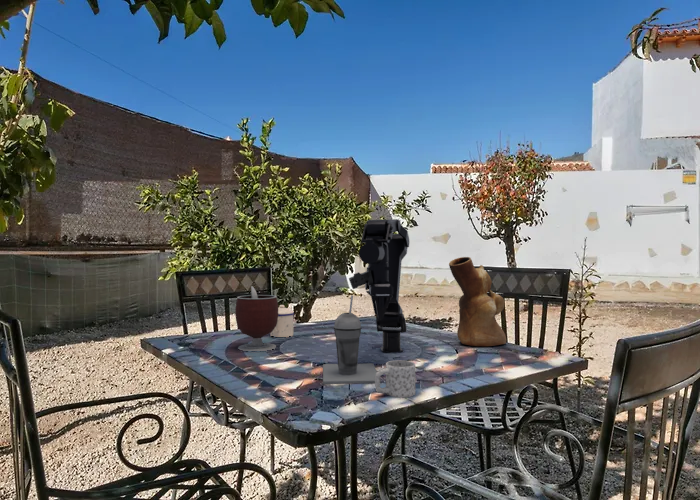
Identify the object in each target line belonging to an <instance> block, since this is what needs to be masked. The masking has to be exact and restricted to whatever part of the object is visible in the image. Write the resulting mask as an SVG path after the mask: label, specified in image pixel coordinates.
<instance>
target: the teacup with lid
mask: <svg viewBox="0 0 700 500" xmlns="http://www.w3.org/2000/svg"><path fill="white" fill-rule="evenodd" d="M294 314H295V312H294V311H293V310H290V309H289V308H287V307H285V305H284V304H280V305H278V321H277V325H276V327H275V328H274V330H273V331H272V332H271V333H269V334H270V337H271V336H275V337H286V338H290V337H289V336H291V337H294ZM275 337H274V338H275Z"/></svg>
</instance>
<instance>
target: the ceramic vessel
mask: <svg viewBox="0 0 700 500" xmlns="http://www.w3.org/2000/svg"><path fill="white" fill-rule="evenodd" d="M448 266H449V267H448V268H449V270H450V272H451V274H452V277H453V278H454V280H455V281H456V283H457V285H458V287H459V288H460V289H461V291H462V295H461V296H460V297H459V300H458V307H459V309H458V312H459V319H458V320H459V322H458V327H457V338H458V340H459V342H460V343H461V345H465V346H470V347H471V346H472V347H492V346H493V347H494V346H499V345H500V346H501V345H506V344H507V336H506V334H505V332H504V330H503V329H502V327H501V326H500V324H499V323H498V321H497V320H496V316H497V315H499V314H501V312H502V311H503V310H504V308H505V299H504V297H502V296H501V295H499V294H498V293H495V292H494V291H493V290H491V288H492V287H491V286H492V282H493V281H492V278H491V276H490V275H489V273H488V272H487V270H485V268H484V265H483V264H480V265H479V267H476V268H475V266H474V263H473V260H472V257H469V256H461V257H458V258H454V259H452V260H450V261H449V263H448Z"/></svg>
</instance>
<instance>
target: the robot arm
mask: <svg viewBox="0 0 700 500" xmlns="http://www.w3.org/2000/svg"><path fill="white" fill-rule="evenodd" d="M363 226H364V227H363V230H362V231H363V232H362V234H361V235H362V236H361V241H360V242H361V243H362V244H363V243H364V244H363V245H361V247H360V248H359V251H358V254H359V255H358V256H359V259H360V260H361V261H362V262H363V263H364V264H368V266H367V267H366V271H365V272H362V273H360V272H358V271H357V272H356V273H353V276H350V277H349V278H348V281H349V283H350V286H351V288H352V289H353V290H354V289H357V288H359V287H361V286H363V285H364V290H365V293H367V294H368V295H369V297H370V298H371V303H372V307H373V312H374V315H375V322H376V323H375V324H376V332H377V333H378V332H382V346H380V350H381V352H383V353H402V352H403V353H404V350H403V348H402V347H401V334H402V333H407V322H406V321H407V320H406V318H405V315H404V313H403V312H404V311H403V309H402V307H401V304H400V303H399V301H400V300H399V299H400V286H401V274H402V262H403V259H404V258H405V257H406V255H407V254H408V248H409V247H410V235H409V231H408V230H407V229H406V228H405V227H404V226H403V225H402V223H401V220H400V219H397V218H395V219H367V220H366V223H365V224H364V225H363ZM395 232H396V233H395Z"/></svg>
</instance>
